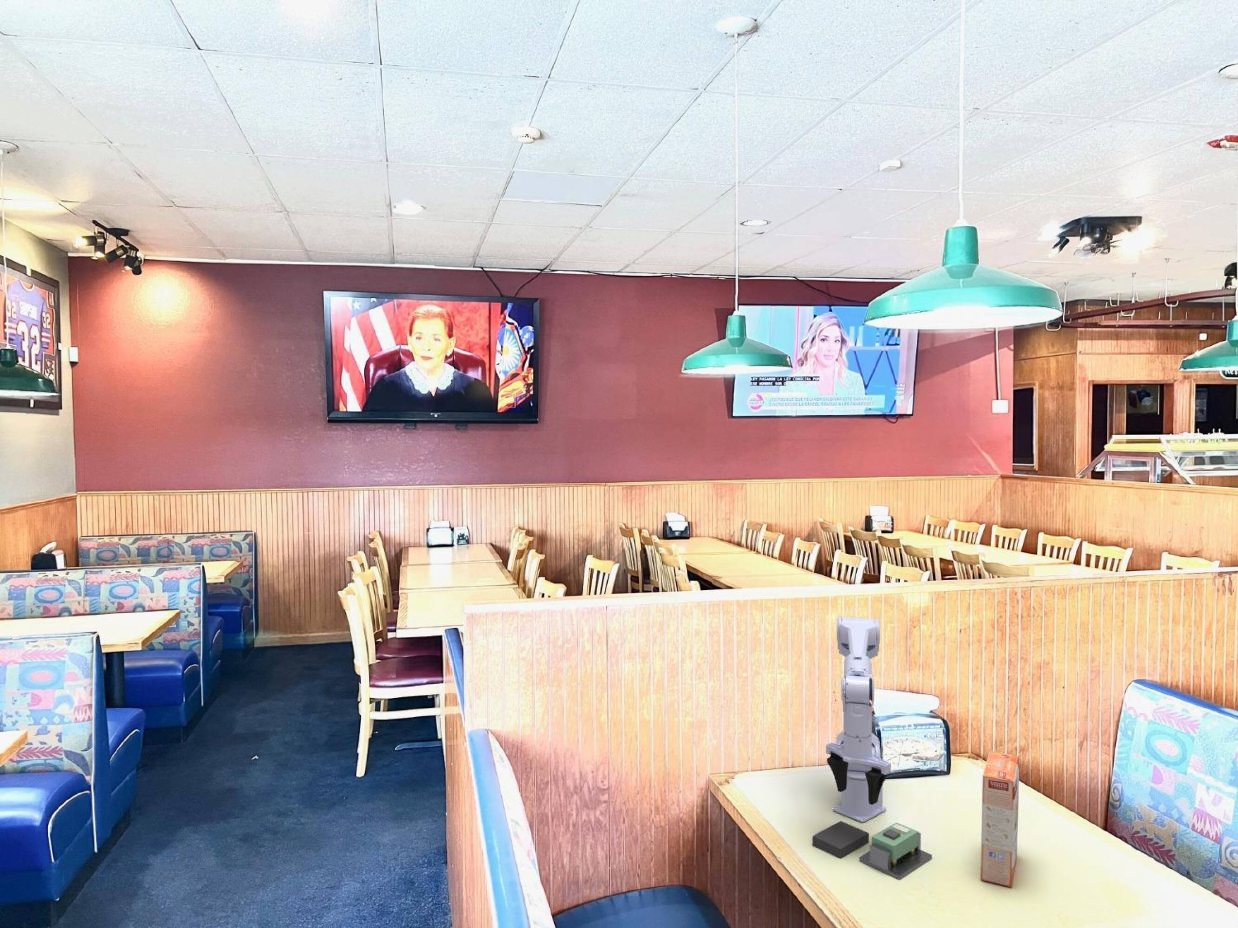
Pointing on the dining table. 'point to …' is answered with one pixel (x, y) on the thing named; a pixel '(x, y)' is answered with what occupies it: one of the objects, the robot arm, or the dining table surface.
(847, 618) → the robot arm
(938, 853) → the dining table surface
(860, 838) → the pad
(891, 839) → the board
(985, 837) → the cracker box
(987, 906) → the dining table surface
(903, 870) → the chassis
